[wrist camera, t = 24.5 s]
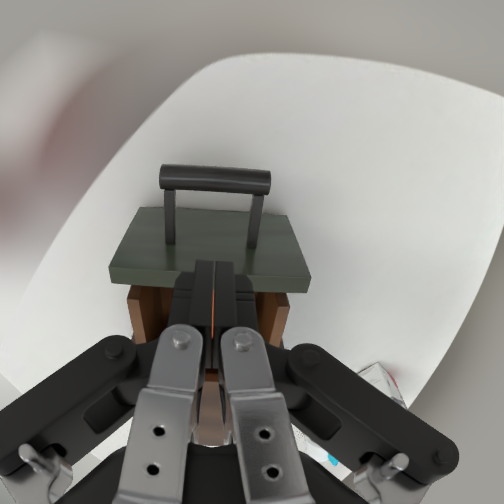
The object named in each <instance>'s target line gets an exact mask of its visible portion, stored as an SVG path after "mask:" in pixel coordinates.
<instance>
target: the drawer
mask: <svg viewBox="0 0 504 504" xmlns="http://www.w3.org/2000/svg"><path fill="white" fill-rule="evenodd" d="M159 186H160V189H165V190H164V208H157V207H140V208H139V209H138V211H137V213H136V215H135V217H134V218H133V220H132V222H131V224H130V226H129V228H128V229H127V231H126V233H125V235H124V237H123V239H122V241H121V243H120V245H119V247H118V249H117V251H116V253H115V255H114V257H113V259H112V261H111V263H110V265H109V273H110V278H111V283H115V284H128V285H131V288H130V291H129V294H128V297H127V304H128V309H129V314H130V318H131V323H132V327H133V332H134V336H135V340H136V344H141V343H146V342H150V341H153V340H155V339H157V338H159V337H160V335H161V333H162V332H163V331H164V330H165V329H166V328H167V324H168V318H169V306H170V301H171V295H172V290H173V288H174V285H175V280H176V278H177V277H178V276H179V275H180V273H181V272H182V271H188V272H195V264H196V259H199V260H214V273H213V290H214V282H215V262H216V260H220V261H234V274H246V275H247V276H248V277H249V279H250V280H251V281H252V283H253V291H254V298H255V306H256V314H257V321H258V329H259V333H260V335H261V336H262V338H263V339H264V340H265V341H267V342H268V343H269V344H271V345H273V346H276V347H279V345H280V341H281V338H282V335H283V331H284V327H285V324H286V320H287V317H288V313H289V309H290V305H289V301H288V297H287V293H307V291H308V287H309V284H310V281H311V275H310V272H309V270H308V267H307V265H306V262H305V259H304V257H303V254H302V252H301V249H300V247H299V244H298V242H297V239H296V236H295V234H294V231H293V229H292V226H291V224H290V222H289V219H288V217H287V215H275V214H262V207H263V200H264V195H268V194H269V192H270V187H271V173H270V171H267V170H256V169H244V168H231V167H216V166H199V165H175V164H162V166H161V168H160V174H159ZM176 190H194V191H212V192H228V193H243V194H253V195H252V202H251V210H250V213H248V212H233V211H217V210H200V209H180V208H176ZM205 373H209V374H218V368H213V338H212V340H211V368H205Z"/></svg>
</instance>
